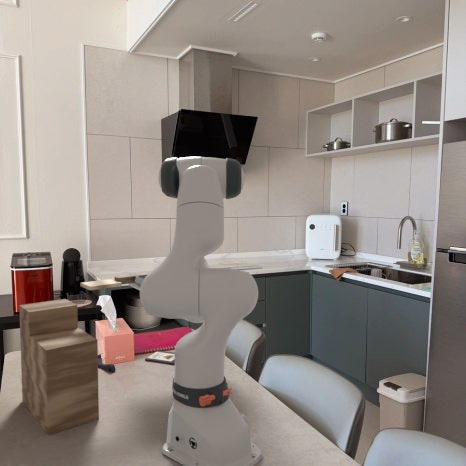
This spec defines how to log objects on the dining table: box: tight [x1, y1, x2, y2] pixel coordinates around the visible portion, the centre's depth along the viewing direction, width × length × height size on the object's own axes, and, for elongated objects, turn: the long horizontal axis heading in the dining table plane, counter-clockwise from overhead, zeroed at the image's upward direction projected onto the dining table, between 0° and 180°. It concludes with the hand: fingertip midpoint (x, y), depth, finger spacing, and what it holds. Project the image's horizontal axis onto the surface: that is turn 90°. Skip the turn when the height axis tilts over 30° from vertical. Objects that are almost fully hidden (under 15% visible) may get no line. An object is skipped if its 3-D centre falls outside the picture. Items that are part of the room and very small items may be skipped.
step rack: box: [18, 298, 100, 436], centre depth 114 cm, size 22×12×26 cm, turn 39°
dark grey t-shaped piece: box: [98, 353, 116, 373], centre depth 144 cm, size 14×15×3 cm
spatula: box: [80, 272, 150, 291], centre depth 127 cm, size 21×7×2 cm, turn 129°
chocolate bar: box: [144, 350, 175, 366], centre depth 151 cm, size 9×1×18 cm
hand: (131, 277), depth 129 cm, fingers closed on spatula, 2 cm apart
